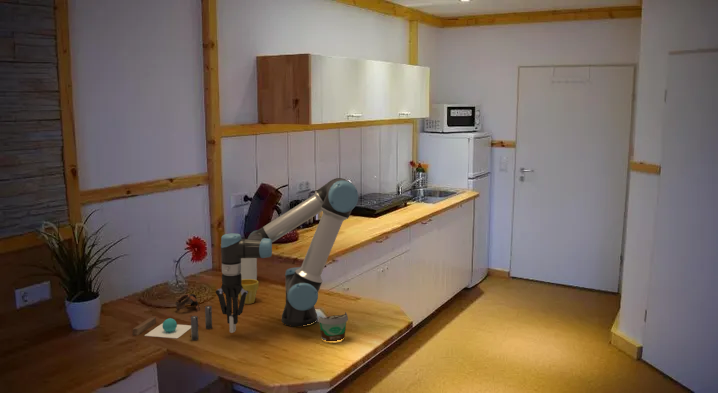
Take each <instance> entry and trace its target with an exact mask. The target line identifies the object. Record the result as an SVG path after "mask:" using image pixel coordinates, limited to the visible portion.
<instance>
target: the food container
mask: <svg viewBox="0 0 718 393" xmlns="http://www.w3.org/2000/svg"><path fill="white" fill-rule="evenodd" d="M348 321H349V317H348V314H347V312H346V311H345V313H344V314H340V315H339V314H338V315H336V314H334V315H330V316H326V317H322V316H321V315H320V316H318V317H317V323H319V329H320V338H322V339H323V340H326V341H337V340H341V339H343V338H344V337H345V336H346V328H347V326H346V325H347V322H348ZM344 339H345V338H344Z"/></svg>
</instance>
